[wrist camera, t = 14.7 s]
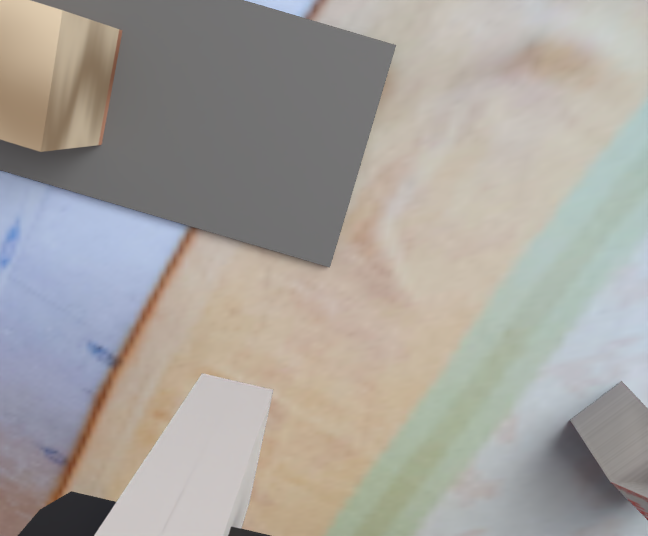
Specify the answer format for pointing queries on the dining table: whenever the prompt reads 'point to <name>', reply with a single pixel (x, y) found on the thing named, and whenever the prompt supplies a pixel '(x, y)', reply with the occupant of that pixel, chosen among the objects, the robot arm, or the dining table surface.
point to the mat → (226, 121)
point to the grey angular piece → (619, 441)
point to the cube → (54, 76)
